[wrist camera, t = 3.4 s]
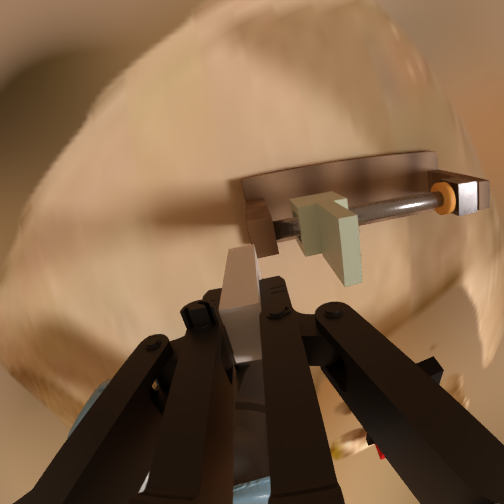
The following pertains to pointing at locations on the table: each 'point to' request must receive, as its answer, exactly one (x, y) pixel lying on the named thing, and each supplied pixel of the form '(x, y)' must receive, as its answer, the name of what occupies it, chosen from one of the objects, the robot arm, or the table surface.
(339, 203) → the cream t-shaped block
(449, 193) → the stop band
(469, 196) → the rod
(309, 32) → the table surface
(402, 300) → the table surface
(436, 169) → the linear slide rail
